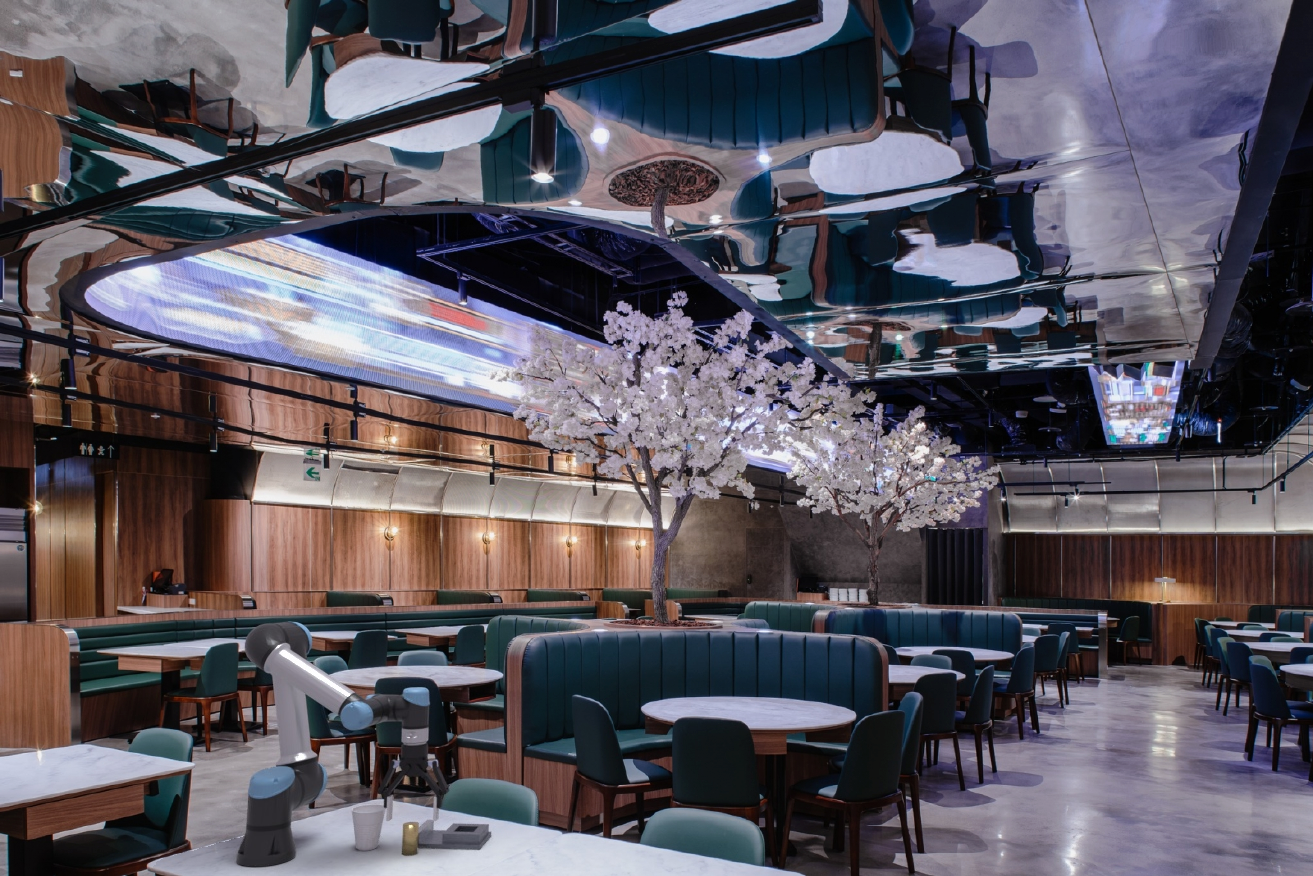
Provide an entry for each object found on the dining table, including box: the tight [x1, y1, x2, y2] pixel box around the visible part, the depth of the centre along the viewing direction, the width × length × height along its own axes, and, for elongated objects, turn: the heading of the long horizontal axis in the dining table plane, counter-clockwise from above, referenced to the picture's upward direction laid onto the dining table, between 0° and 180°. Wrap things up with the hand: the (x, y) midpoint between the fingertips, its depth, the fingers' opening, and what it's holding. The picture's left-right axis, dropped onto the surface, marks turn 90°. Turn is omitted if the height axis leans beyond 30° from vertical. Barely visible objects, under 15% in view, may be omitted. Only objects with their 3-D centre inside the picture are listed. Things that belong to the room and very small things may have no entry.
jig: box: [418, 819, 492, 851], centre depth 266 cm, size 22×14×4 cm, turn 87°
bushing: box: [401, 821, 420, 857], centre depth 255 cm, size 4×4×8 cm
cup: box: [351, 803, 387, 852], centre depth 260 cm, size 10×10×11 cm
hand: (412, 820), depth 256 cm, fingers open, 13 cm apart
